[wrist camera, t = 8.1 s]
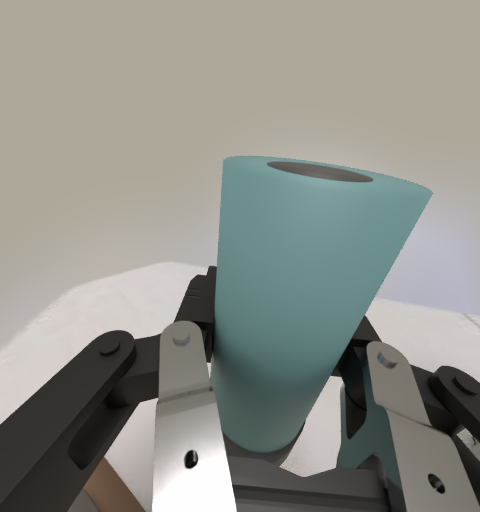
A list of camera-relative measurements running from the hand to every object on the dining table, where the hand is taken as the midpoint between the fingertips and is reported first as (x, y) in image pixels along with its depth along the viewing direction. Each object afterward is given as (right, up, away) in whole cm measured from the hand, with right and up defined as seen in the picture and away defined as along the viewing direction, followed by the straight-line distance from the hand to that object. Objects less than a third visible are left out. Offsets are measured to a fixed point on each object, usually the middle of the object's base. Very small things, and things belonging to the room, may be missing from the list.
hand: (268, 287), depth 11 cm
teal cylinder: (-1, -7, +1) cm, 7 cm away
